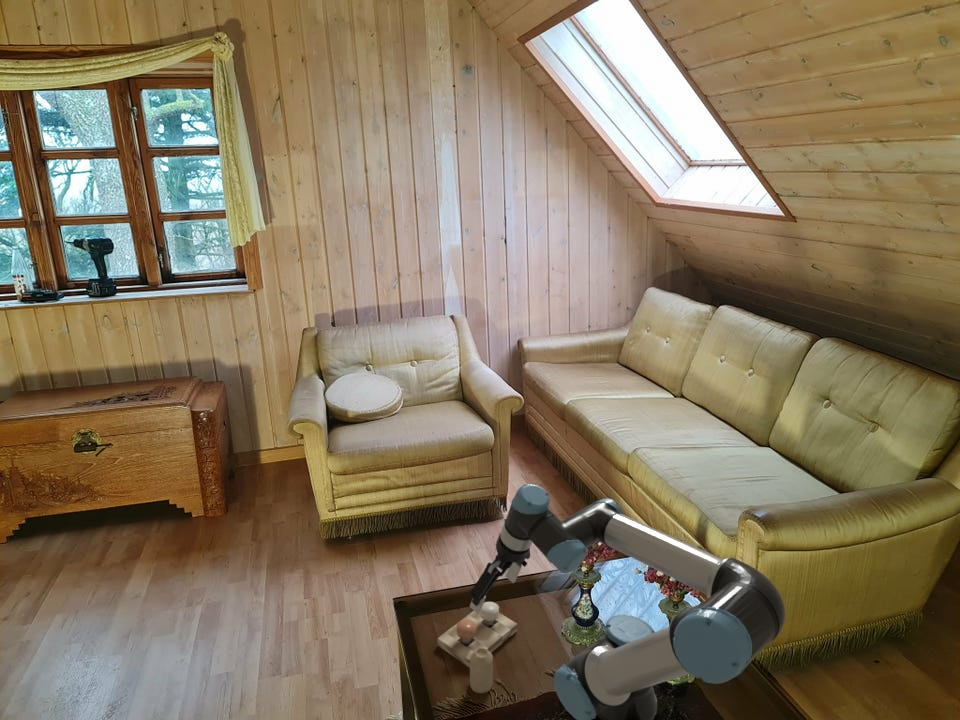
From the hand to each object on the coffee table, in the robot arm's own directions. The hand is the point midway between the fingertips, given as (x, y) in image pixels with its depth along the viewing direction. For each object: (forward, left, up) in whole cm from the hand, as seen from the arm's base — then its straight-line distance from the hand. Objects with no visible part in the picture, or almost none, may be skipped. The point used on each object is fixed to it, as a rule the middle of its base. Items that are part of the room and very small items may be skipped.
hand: (492, 593), depth 175 cm
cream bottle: (-4, +8, -20) cm, 22 cm away
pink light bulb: (+7, +2, -18) cm, 19 cm away
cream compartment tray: (+7, -3, -20) cm, 21 cm away
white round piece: (+7, -7, -18) cm, 20 cm away
